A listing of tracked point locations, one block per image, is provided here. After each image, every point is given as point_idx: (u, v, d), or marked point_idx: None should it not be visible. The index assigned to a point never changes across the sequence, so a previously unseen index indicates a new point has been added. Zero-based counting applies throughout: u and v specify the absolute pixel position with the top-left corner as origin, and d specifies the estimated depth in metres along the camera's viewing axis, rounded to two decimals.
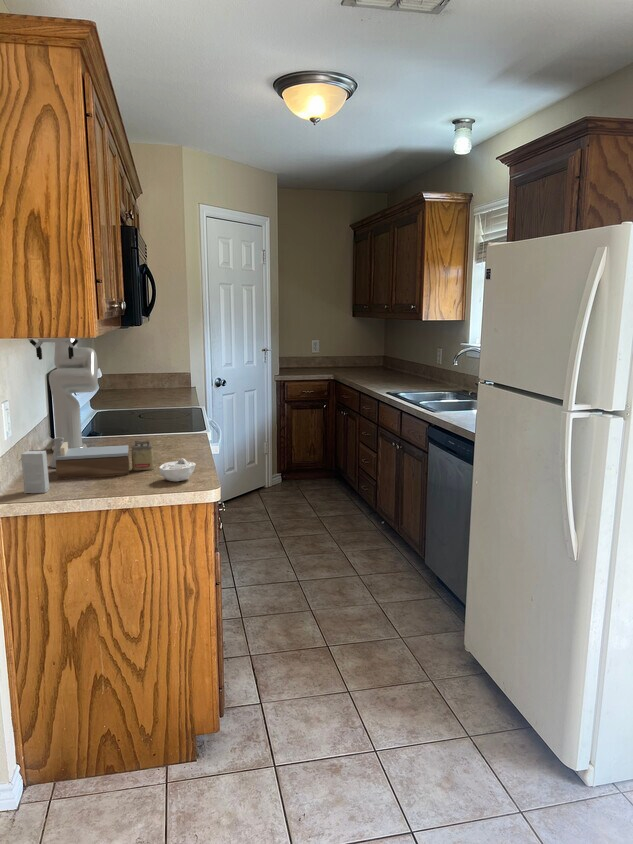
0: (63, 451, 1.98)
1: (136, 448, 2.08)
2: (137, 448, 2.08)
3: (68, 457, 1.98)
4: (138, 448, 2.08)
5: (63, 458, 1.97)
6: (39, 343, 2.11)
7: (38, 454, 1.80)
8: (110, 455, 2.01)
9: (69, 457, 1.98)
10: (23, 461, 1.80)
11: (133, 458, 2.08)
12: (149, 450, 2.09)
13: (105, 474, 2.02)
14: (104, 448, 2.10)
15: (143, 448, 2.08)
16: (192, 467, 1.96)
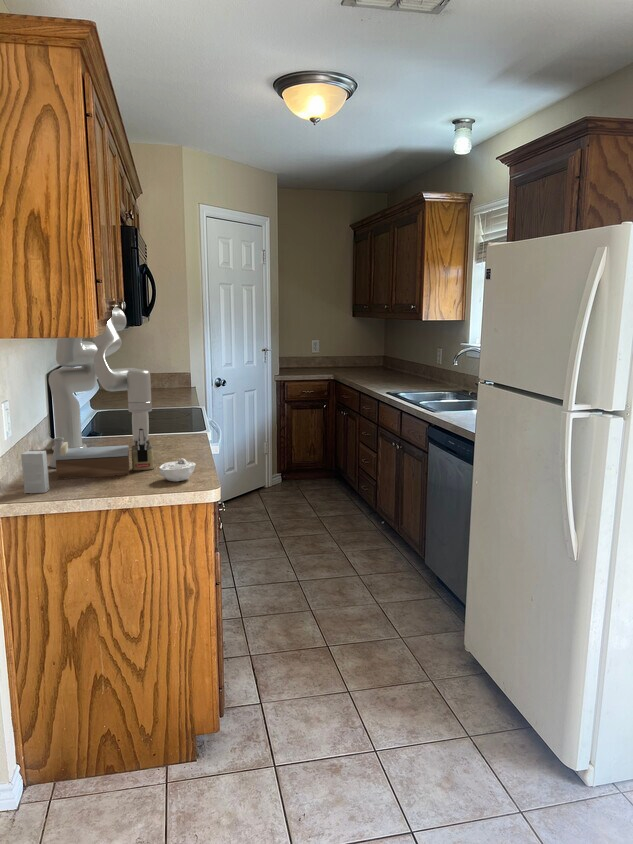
0: (63, 451, 1.98)
1: (136, 448, 2.08)
2: (137, 448, 2.08)
3: (68, 457, 1.98)
4: None
5: (63, 458, 1.97)
6: None
7: (38, 454, 1.80)
8: (110, 455, 2.01)
9: (69, 457, 1.98)
10: (23, 461, 1.80)
11: (134, 458, 2.08)
12: (149, 449, 2.09)
13: (105, 474, 2.02)
14: (104, 448, 2.10)
15: None
16: (192, 467, 1.96)
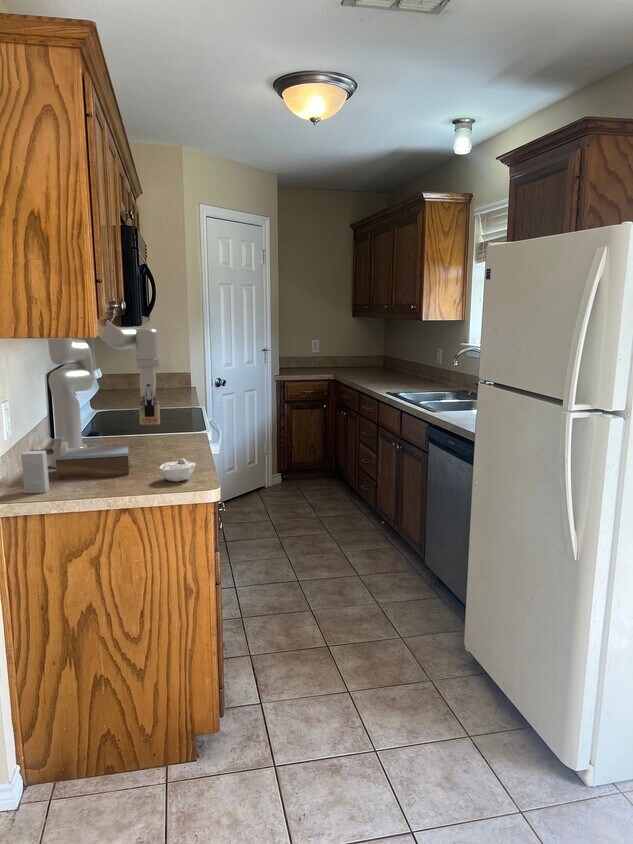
0: (63, 451, 1.98)
1: (144, 403, 2.17)
2: None
3: (68, 457, 1.98)
4: None
5: (63, 458, 1.97)
6: None
7: (38, 454, 1.80)
8: (110, 455, 2.01)
9: (69, 457, 1.98)
10: (23, 461, 1.80)
11: (141, 413, 2.18)
12: (156, 405, 2.19)
13: (105, 474, 2.02)
14: (104, 448, 2.10)
15: None
16: (192, 467, 1.96)
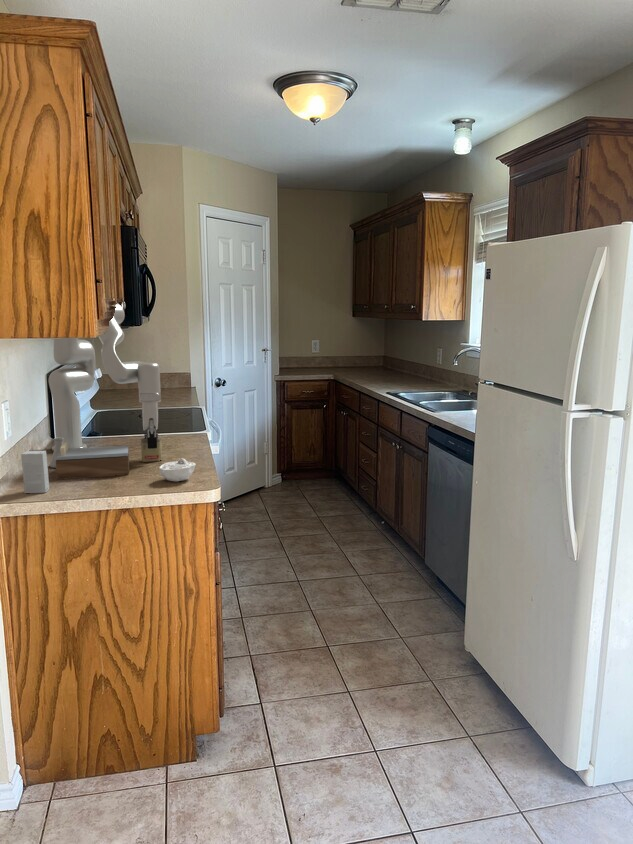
0: (63, 451, 1.98)
1: (146, 441, 2.20)
2: None
3: (68, 457, 1.98)
4: None
5: (63, 458, 1.97)
6: (155, 432, 2.18)
7: (38, 454, 1.80)
8: (110, 455, 2.01)
9: (69, 457, 1.98)
10: (23, 461, 1.80)
11: (143, 450, 2.21)
12: (158, 442, 2.22)
13: (105, 474, 2.02)
14: (104, 448, 2.10)
15: None
16: (192, 467, 1.96)
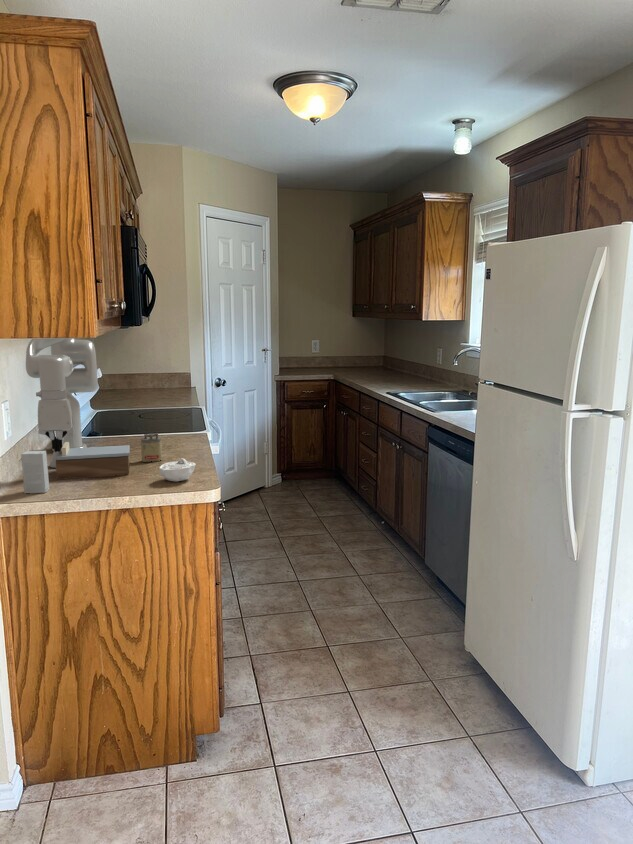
0: (64, 451, 1.99)
1: (146, 441, 2.20)
2: (147, 441, 2.20)
3: (69, 457, 1.98)
4: (148, 441, 2.21)
5: (64, 458, 1.97)
6: None
7: (38, 454, 1.80)
8: (111, 455, 2.01)
9: (70, 457, 1.98)
10: (23, 461, 1.80)
11: (143, 450, 2.21)
12: (158, 442, 2.22)
13: (105, 474, 2.02)
14: (105, 448, 2.10)
15: (152, 441, 2.21)
16: (192, 467, 1.96)
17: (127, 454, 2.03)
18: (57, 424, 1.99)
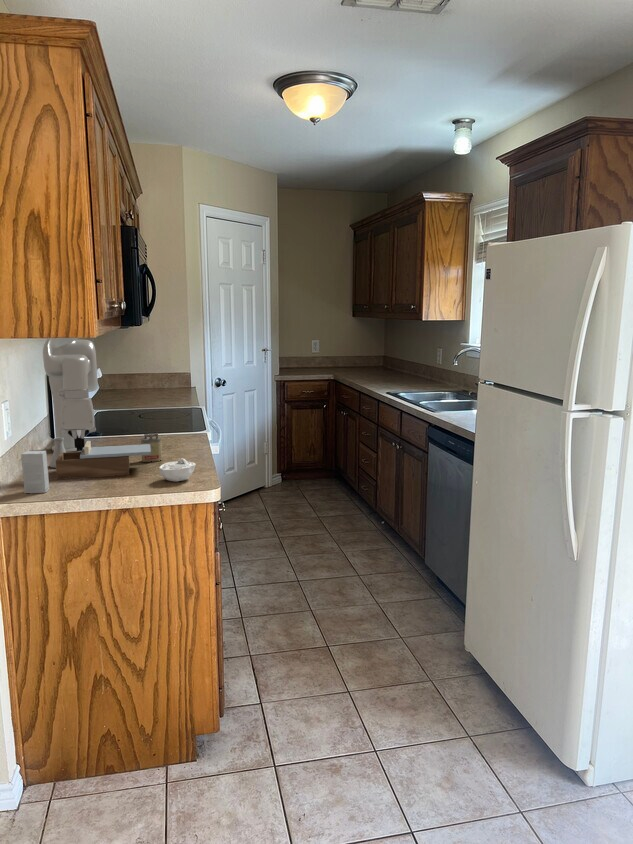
0: (87, 450, 2.00)
1: (146, 441, 2.20)
2: (147, 441, 2.20)
3: (92, 456, 2.00)
4: (147, 441, 2.21)
5: (87, 457, 1.99)
6: None
7: (38, 454, 1.80)
8: (133, 454, 2.03)
9: (93, 455, 2.00)
10: (23, 461, 1.80)
11: None
12: (158, 442, 2.22)
13: (105, 474, 2.02)
14: (126, 447, 2.11)
15: (152, 441, 2.21)
16: (192, 467, 1.96)
17: (149, 453, 2.04)
18: (80, 423, 2.01)
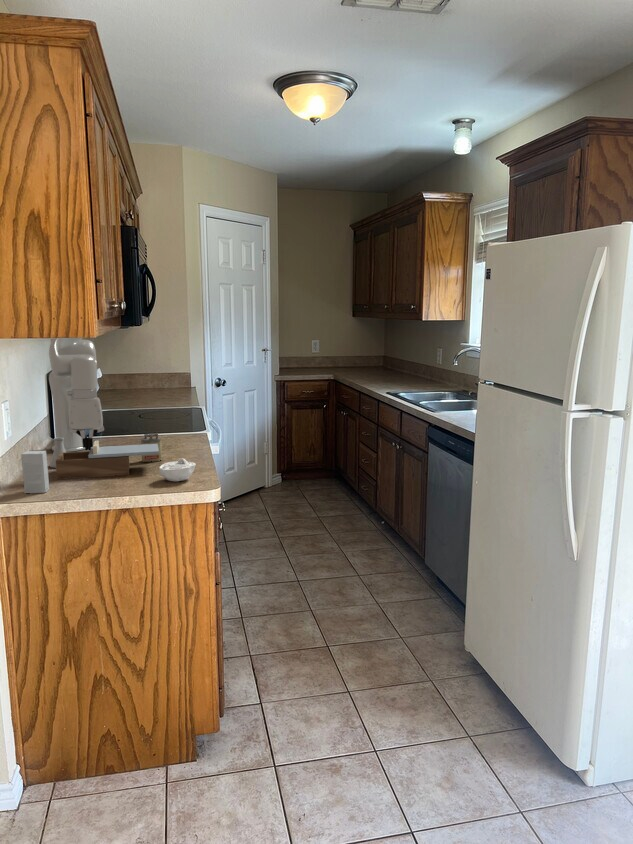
0: (95, 449, 2.01)
1: (146, 441, 2.20)
2: (147, 441, 2.20)
3: (101, 455, 2.00)
4: (147, 441, 2.21)
5: (96, 456, 2.00)
6: None
7: (38, 454, 1.80)
8: (141, 453, 2.04)
9: (101, 455, 2.00)
10: (23, 461, 1.80)
11: None
12: (158, 442, 2.22)
13: (105, 474, 2.02)
14: (134, 446, 2.12)
15: (152, 441, 2.21)
16: (192, 467, 1.96)
17: (157, 452, 2.05)
18: (88, 423, 2.01)
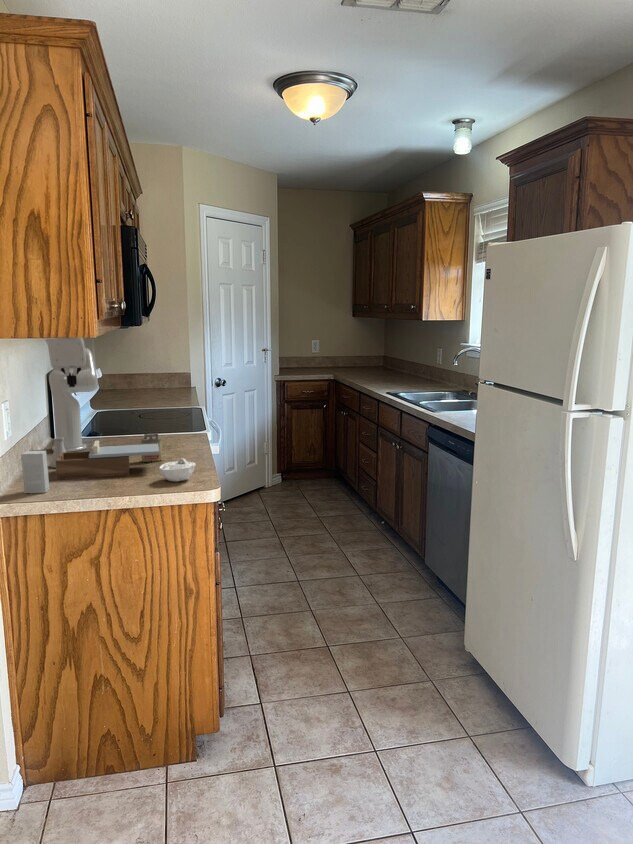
0: (96, 449, 2.01)
1: (146, 441, 2.20)
2: (147, 441, 2.20)
3: (101, 455, 2.00)
4: (147, 441, 2.21)
5: (96, 456, 2.00)
6: None
7: (38, 454, 1.80)
8: (142, 453, 2.04)
9: (102, 455, 2.00)
10: (23, 461, 1.80)
11: None
12: (158, 442, 2.22)
13: (105, 474, 2.02)
14: (135, 446, 2.12)
15: (152, 441, 2.21)
16: (192, 467, 1.96)
17: (157, 452, 2.05)
18: (72, 360, 2.13)
